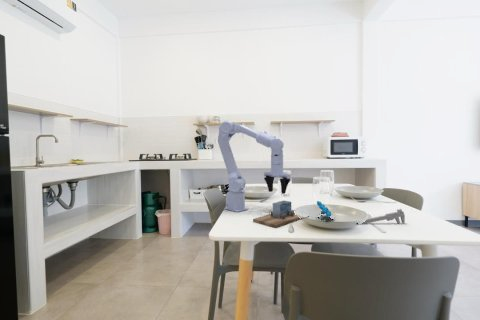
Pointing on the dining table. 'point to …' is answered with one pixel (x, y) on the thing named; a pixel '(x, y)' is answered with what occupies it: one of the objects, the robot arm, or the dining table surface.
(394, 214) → the caliper
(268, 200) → the dining table surface
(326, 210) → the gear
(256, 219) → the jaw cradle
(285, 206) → the block
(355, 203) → the dining table surface
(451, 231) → the dining table surface
